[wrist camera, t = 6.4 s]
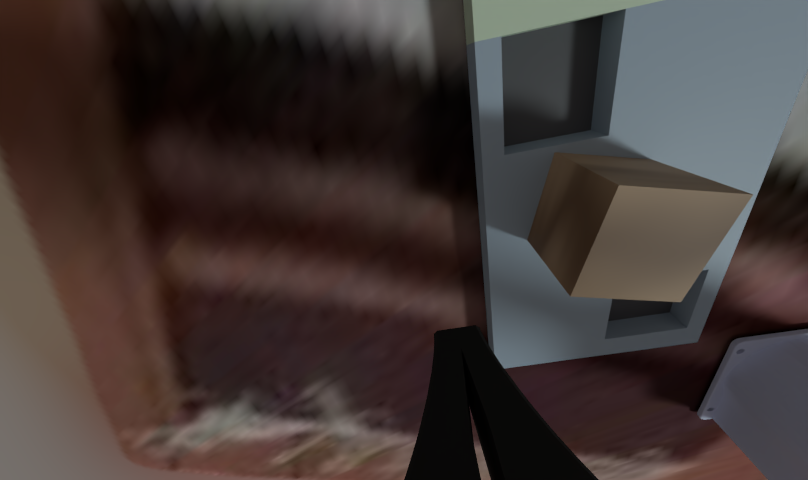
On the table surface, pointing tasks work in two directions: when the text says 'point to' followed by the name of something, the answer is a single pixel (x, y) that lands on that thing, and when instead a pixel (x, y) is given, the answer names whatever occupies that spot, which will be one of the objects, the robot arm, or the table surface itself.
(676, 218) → the walnut block
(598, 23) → the board
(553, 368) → the table surface
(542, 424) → the robot arm
